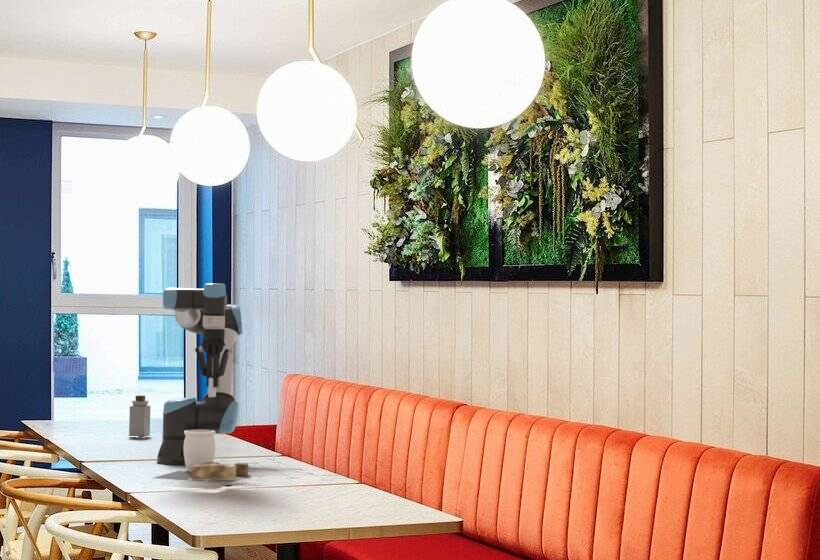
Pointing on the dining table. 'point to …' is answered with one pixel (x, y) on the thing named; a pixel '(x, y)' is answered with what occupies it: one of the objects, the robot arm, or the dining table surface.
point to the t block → (213, 471)
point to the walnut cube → (241, 469)
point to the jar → (198, 447)
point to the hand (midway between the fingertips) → (212, 396)
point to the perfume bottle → (139, 417)
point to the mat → (187, 476)
